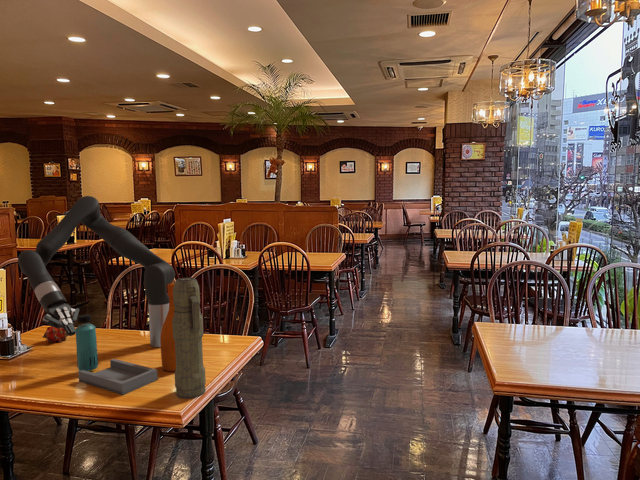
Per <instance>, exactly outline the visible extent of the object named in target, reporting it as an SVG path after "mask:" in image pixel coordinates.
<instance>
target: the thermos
mask: <svg viewBox="0 0 640 480" xmlns="http://www.w3.org/2000/svg"><path fill="white" fill-rule="evenodd" d="M174 283H175V284H174V288H173V302H174V308H175V310H174V316H173V320H172V326H173V338H174V340H175V354H176V371H174V387H175V396H176V397H177V398H179V399H186V400H187V399H188V400H189V399H195V398H199V397H200V396H201V397H202V396H203V395H204V394H205V393H206V384H207V383H206V382H207V381H206V380H207V379H206V369H205V366H204V358H203V357H204V355H203V354H204V353H203V337H204V318H203V314H202V313H201V307H200V305H201V296H200V295H201V294H200V293H201V292H200V285H199V283H198V280H197V279H196V278H194V277H191V276H190V277H180V278H177V279H175V280H174Z"/></svg>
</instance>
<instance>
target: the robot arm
mask: <svg viewBox="0 0 640 480" xmlns="http://www.w3.org/2000/svg"><path fill="white" fill-rule="evenodd" d="M80 223H81V224H82V225H83V226H84V227H86V228H88V229H89V230H90V231H91V232H93V233H95V234H96V235H97V236H98V237H99V238H101V239H102V240H103V241H104V243H106V244H108V246H109V247H110V248H111V249H113V250H114V251H115V252H116V253H117V254H118V255H120V256H121V257H123V258H125V259H127V260H130V261H131V262H133V263H137V264H139V265H141V266H142V267H144V268H145V270H144V273H143V282H144V293H145V297H146V299H147V304H148V305H147V306H148V320H149V322H148V323H149V325H148V326H149V343H150V344H149V345H150V346H151V347H153V348H161V344H160V336H161V331H162V327H163V324H164V322H165V319H166V316H167V314H168V310H169V296H168V291H167V288H166V287H167V286H166V285H168V284H170V283H173V281H175V278H176V272H175V269H174V267H173V265H171V264H170V263H169V262H167V261H166V260H164V259H163V258H161V257H160V256H158V255H157V254H155V253H154V252H153V251H152V250H151V249H149V248H148V247H147V246H146V245H145V244H143V243H142V242H141V241H140V240H138V238H137V237H136V236H134V235H133V234H132V233H131V231H128V230H127V229H125V228H124V227H121V226H118V225H114V224H113V223H110V222H109V221H108V220H107V219H106V218H105V217H104V216H103V215H102V213H101V205H100V202H99V200H98V199H97V198H96V197H94V196H91V195H86V196H82V197H80V198H78V199H77V200H76V202H75V203H74V204H73V205H72V206H71V208H70V209H69V210H68V212H67V213H66V214H64V216H63V217H62V218H61V220H60V221H59V222H58V223H57V224H56V225H55V226H54V228H53V229H52V230H50V231H49V232H48V233H46V235H44V237H42V239H40V240H39V241H38V243H37V244H36V245H35V246H36V247H35V250H32V249H26V250H24V251H22V252H20V253H19V254H18V256H17V257H18V258H17V262H18V265H19V269H20V271H21V273H23V275H25V276H26V277H27V279H28V282H29V284H30V287H31V288H32V290H33V292H34V294H35V296H36V299H37V300H38V302H39V304H40V305H41V307H42V309H43V311H44V312H45V315H44V316H43V318H42V320H41V321H42V323H45V324H47V325H49V326H50V327H51V326H53V327H55V328H57V329H58V328H63V329H64V330H65V332H66V334H67V335H69V336H68V337H72V336H75V335H76V333H75V329H76V327H75V323H76V321H78V316H79V312H80V308H78V307H77V308H72V306H71V305H69V303H68V300H67V299H66V296H65V295H64V294H63V292H62V291H61V289H60V287H59V286H58V285H57V283H56V282H55V281H54V279H53V277H52V276H51V274H50V273H49V271H48V270H47V269H48V268H46V266H47V265H48V264H49V262H51V260H52V258H53V256H54V255H55V254H56V253H57V252H58V251H59V250H61V248H63V246H64V245H66V244H67V242H68V240H69V239H70V237H71V236H72V234H73V233H74V231H75V230H76V228H77V227H78V226H79V224H80ZM71 316H72V317H71Z"/></svg>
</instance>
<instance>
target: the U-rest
mask: <svg viewBox="0 0 640 480" xmlns="http://www.w3.org/2000/svg"><path fill="white" fill-rule="evenodd" d="M109 363H110V367H108V368H105V369H101V370H99V371H95V372H91V371H85V370H81V371H79V370H78V374H77V375H78V382H79V383H81V384H85V385H89V386H92V387H95V388H98V389H102V390H105V391H108V392H111V393H114V394H118V395H120V396H124V395H126V393H127V394H128V393H131V392H134V391H135V390H138V389H140V388H142V387H145V386H147V385H149V384H151V383H154V382H156V381H158V380H159V379H158V369H156V368H153V367H148V366H144V365H141V364H136V363H132V362H128V361H124V360H120V359H116V358H112V359H110V360H109Z"/></svg>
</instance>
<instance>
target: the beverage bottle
mask: <svg viewBox="0 0 640 480" xmlns="http://www.w3.org/2000/svg"><path fill="white" fill-rule="evenodd" d="M90 322H92V315H91V314H82V315H78V316H77V323H78V324H79V325H78V326H77V327H75V343H76V359H77V360H76V362H77V364H76V365H77V370H78V371H81V370H85V371H89V372H91V371H93V370H96V369H98V367H99V355H98V354H99V353H98V346H97V345H98V341H97V333H96V330H97V329H96V326H95V325H94V324H92V323H90Z"/></svg>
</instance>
